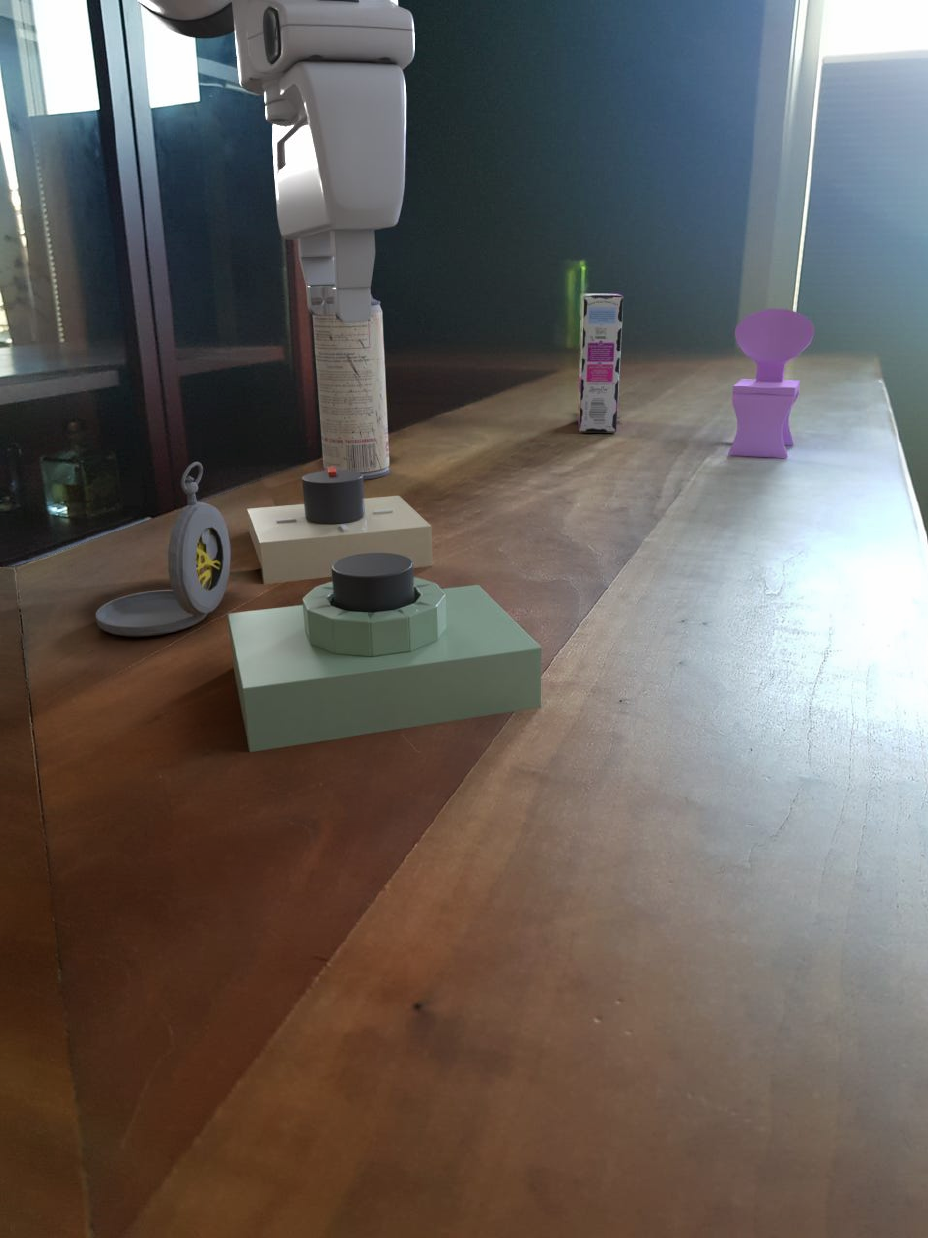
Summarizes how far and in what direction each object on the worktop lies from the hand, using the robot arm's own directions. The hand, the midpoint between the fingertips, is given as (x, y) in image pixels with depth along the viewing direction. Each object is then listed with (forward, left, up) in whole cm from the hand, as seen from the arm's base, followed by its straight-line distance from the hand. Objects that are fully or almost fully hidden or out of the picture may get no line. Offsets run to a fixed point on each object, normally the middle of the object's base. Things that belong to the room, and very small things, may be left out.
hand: (337, 318), depth 56 cm
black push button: (-2, -15, -13) cm, 20 cm away
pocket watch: (-12, -2, -18) cm, 21 cm away
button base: (-2, -15, -17) cm, 23 cm away
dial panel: (0, +9, -17) cm, 20 cm away
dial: (0, +9, -14) cm, 17 cm away
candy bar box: (+42, +55, -18) cm, 72 cm away
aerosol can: (+7, +38, -18) cm, 43 cm away
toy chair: (+52, +33, -18) cm, 65 cm away
